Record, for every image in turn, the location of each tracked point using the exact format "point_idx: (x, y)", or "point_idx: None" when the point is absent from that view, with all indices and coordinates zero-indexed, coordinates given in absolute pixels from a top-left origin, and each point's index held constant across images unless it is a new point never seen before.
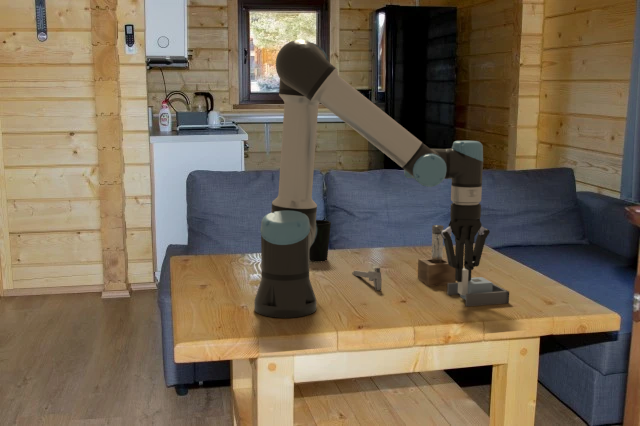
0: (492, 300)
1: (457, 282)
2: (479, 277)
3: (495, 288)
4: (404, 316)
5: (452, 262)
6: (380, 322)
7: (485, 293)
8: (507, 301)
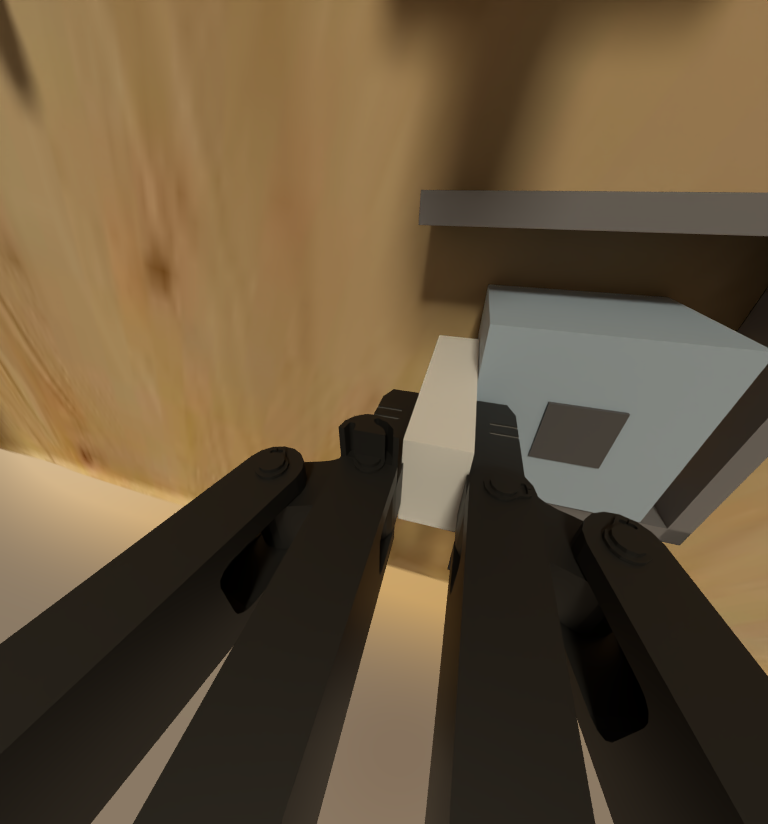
0: None
1: (533, 194)
2: (723, 361)
3: (740, 421)
4: (176, 439)
5: (248, 563)
6: (122, 451)
7: None
8: None
